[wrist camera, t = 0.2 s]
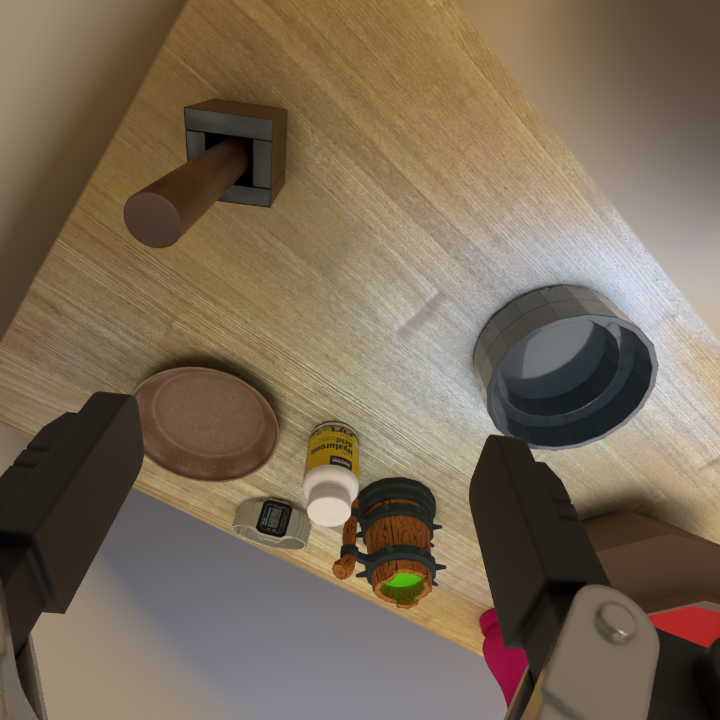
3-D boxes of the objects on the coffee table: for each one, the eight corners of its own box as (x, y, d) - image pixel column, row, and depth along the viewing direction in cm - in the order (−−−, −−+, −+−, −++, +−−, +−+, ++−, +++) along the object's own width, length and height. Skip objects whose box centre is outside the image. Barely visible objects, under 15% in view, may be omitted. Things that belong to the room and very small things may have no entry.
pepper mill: (535, 613, 69) (593, 791, 52) (504, 635, 72) (549, 810, 56) (497, 599, 67) (544, 780, 50) (466, 623, 71) (501, 800, 54)
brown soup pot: (579, 618, 70) (633, 756, 56) (476, 549, 61) (511, 692, 47) (740, 544, 61) (853, 686, 47) (648, 449, 52) (753, 590, 38)
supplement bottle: (359, 420, 49) (360, 492, 41) (358, 458, 52) (358, 533, 44) (307, 419, 49) (297, 492, 41) (309, 457, 52) (300, 532, 44)
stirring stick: (235, 124, 34) (118, 187, 17) (266, 129, 34) (179, 195, 18) (236, 157, 36) (127, 245, 19) (265, 161, 36) (183, 251, 19)
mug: (455, 495, 56) (475, 588, 46) (406, 542, 60) (415, 636, 50) (360, 453, 52) (361, 544, 42) (316, 507, 57) (307, 600, 47)
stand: (214, 98, 33) (183, 107, 28) (287, 109, 34) (272, 119, 28) (216, 175, 36) (189, 197, 30) (284, 184, 37) (270, 208, 31)
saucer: (299, 378, 46) (296, 395, 44) (262, 478, 54) (258, 497, 52) (146, 332, 44) (134, 347, 41) (129, 444, 51) (118, 462, 49)
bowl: (495, 274, 41) (515, 305, 36) (649, 293, 42) (689, 325, 37) (457, 402, 48) (469, 443, 43) (588, 415, 49) (614, 456, 44)
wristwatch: (316, 504, 56) (313, 540, 52) (305, 537, 60) (301, 573, 55) (239, 490, 55) (229, 526, 51) (232, 525, 58) (223, 561, 54)
